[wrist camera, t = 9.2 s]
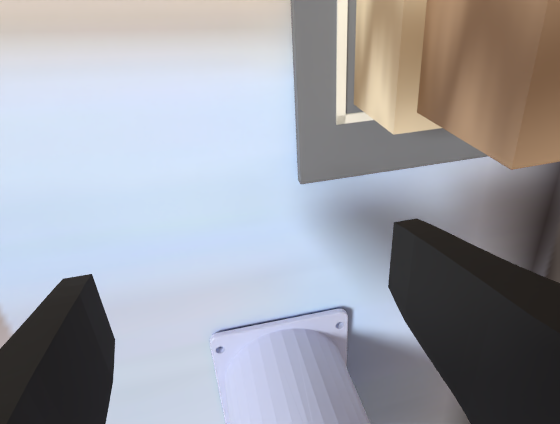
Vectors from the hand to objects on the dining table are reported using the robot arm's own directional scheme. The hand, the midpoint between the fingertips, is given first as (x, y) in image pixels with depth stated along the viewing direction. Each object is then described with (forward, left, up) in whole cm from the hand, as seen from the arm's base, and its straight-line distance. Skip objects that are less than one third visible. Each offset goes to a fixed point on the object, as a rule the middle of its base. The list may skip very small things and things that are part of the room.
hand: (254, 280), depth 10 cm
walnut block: (+4, -9, -5) cm, 11 cm away
